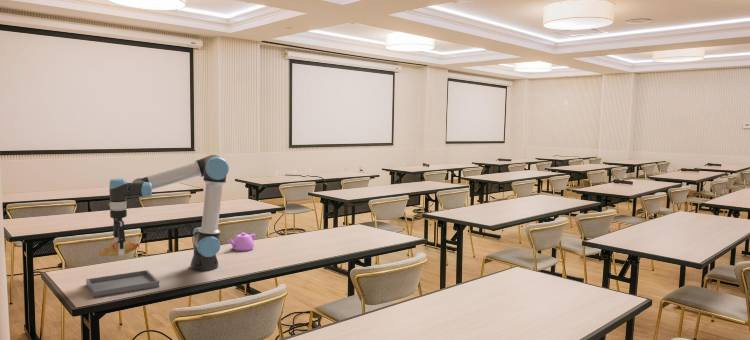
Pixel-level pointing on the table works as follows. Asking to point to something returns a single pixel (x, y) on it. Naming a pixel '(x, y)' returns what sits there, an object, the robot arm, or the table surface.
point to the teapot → (243, 242)
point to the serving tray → (121, 283)
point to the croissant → (113, 249)
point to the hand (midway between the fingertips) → (119, 252)
